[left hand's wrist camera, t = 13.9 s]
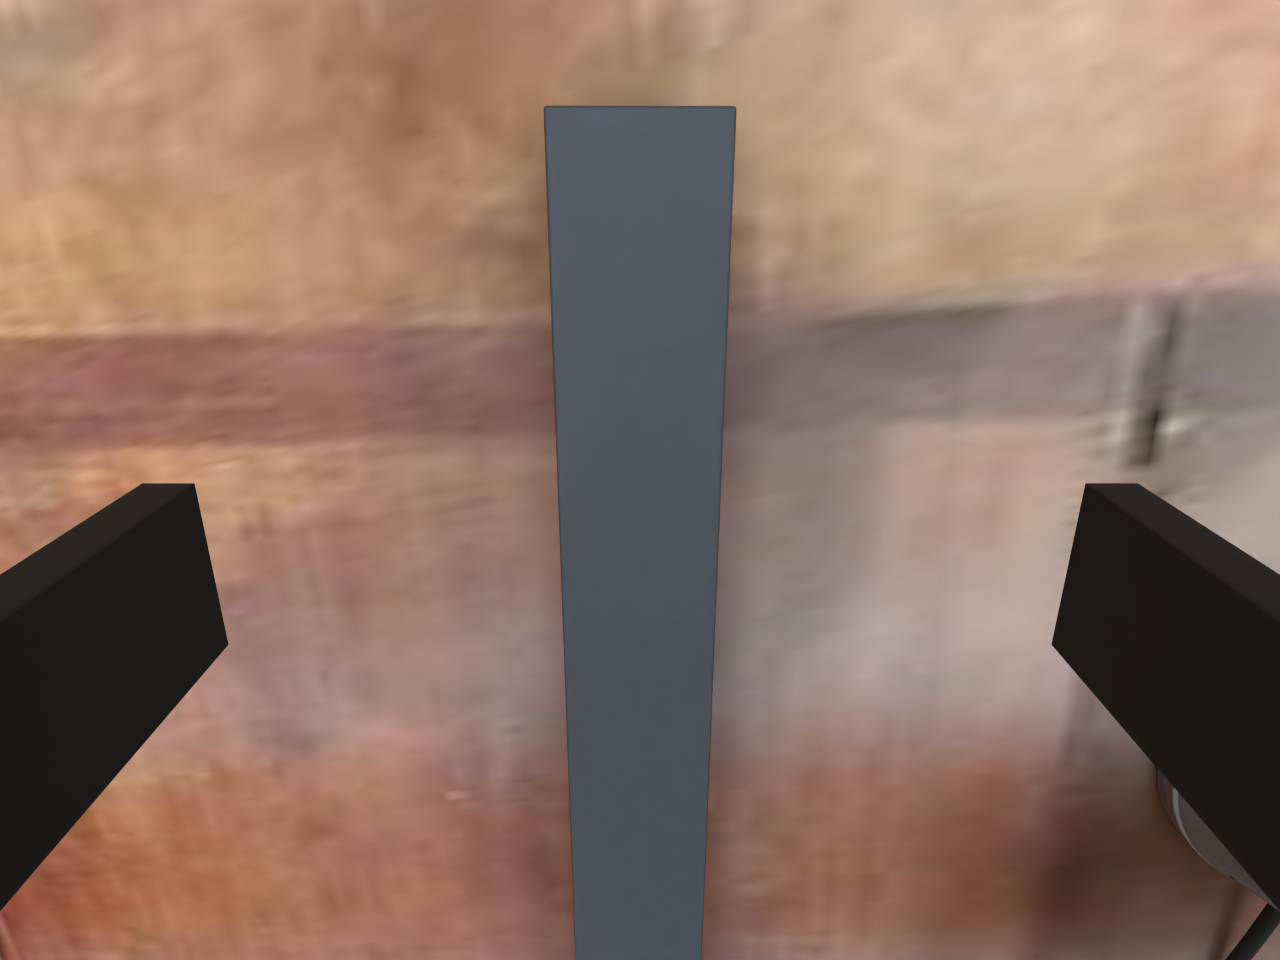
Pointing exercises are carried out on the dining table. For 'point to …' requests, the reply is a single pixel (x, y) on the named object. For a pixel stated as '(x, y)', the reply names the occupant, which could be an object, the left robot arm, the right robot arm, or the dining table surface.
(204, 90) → the dining table surface
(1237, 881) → the left robot arm
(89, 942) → the dining table surface
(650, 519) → the beam
